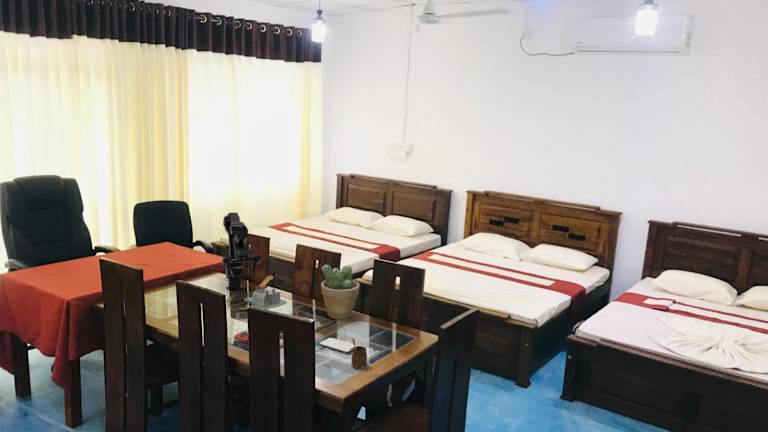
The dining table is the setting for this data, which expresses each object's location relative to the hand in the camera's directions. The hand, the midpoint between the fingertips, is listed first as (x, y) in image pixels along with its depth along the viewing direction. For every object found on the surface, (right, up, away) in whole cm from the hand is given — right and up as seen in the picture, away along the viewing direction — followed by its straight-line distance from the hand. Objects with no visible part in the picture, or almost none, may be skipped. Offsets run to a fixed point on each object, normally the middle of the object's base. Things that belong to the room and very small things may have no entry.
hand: (243, 277), depth 279 cm
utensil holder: (+59, -28, -58) cm, 87 cm away
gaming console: (+15, -22, -30) cm, 40 cm away
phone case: (+50, -25, -42) cm, 69 cm away
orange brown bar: (+9, -4, +7) cm, 13 cm away
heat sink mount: (+9, -14, +9) cm, 19 cm away
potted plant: (+47, -18, -5) cm, 51 cm away
